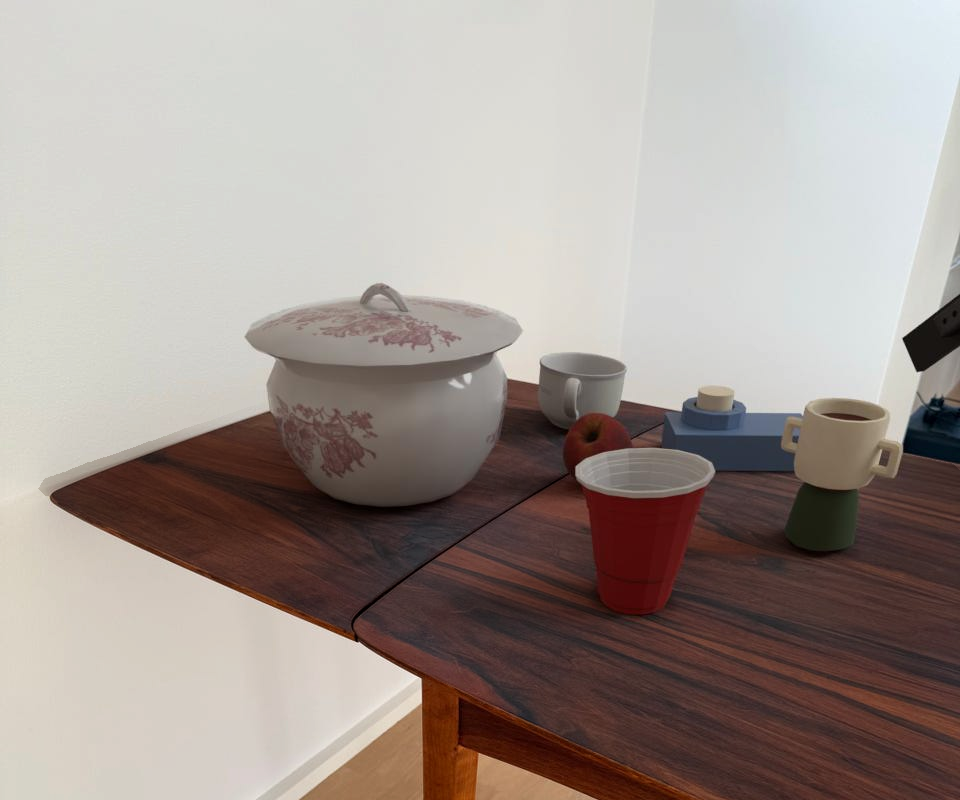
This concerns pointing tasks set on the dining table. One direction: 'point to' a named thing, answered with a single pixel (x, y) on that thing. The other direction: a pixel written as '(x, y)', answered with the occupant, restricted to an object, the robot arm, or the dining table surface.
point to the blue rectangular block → (730, 437)
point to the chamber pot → (387, 392)
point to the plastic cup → (641, 521)
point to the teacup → (579, 386)
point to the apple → (593, 439)
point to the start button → (715, 398)
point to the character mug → (835, 468)
